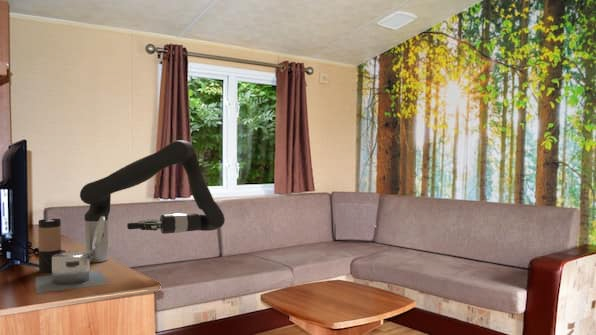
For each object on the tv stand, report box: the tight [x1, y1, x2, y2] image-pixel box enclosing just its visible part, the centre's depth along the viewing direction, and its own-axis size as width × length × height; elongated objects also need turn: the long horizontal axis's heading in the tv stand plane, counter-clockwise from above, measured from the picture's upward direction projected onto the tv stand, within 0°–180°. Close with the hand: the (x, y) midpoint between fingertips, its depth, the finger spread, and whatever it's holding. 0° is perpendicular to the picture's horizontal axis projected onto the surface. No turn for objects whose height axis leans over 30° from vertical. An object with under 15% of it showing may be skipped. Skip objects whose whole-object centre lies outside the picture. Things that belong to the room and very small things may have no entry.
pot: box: [51, 251, 93, 285], centre depth 166 cm, size 16×13×9 cm
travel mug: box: [38, 218, 62, 274], centre depth 179 cm, size 8×8×20 cm
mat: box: [34, 269, 109, 294], centre depth 166 cm, size 22×22×1 cm
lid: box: [90, 216, 105, 255], centre depth 170 cm, size 13×14×2 cm
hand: (127, 226), depth 175 cm, fingers closed
